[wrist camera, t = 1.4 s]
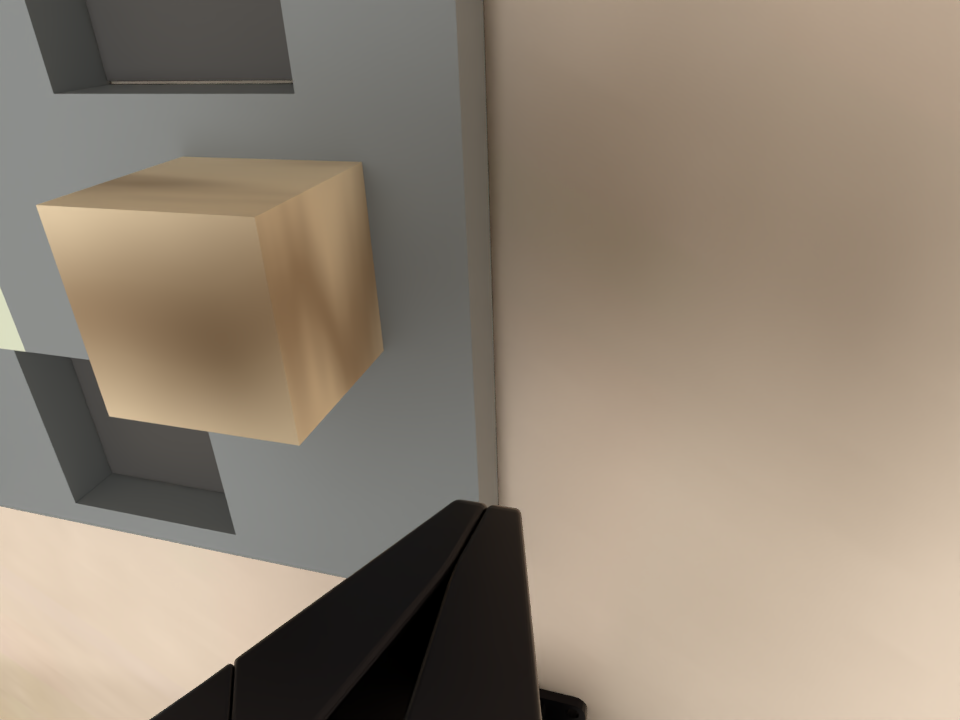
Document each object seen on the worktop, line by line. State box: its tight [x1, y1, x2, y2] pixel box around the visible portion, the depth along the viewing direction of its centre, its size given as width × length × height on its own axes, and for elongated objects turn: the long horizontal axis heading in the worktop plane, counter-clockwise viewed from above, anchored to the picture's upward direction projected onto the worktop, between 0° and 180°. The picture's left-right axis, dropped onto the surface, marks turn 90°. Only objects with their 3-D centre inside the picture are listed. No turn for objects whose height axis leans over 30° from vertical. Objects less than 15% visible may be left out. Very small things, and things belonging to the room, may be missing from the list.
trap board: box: [0, 0, 498, 578], centre depth 20 cm, size 22×23×4 cm
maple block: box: [36, 157, 384, 446], centre depth 16 cm, size 5×5×4 cm
